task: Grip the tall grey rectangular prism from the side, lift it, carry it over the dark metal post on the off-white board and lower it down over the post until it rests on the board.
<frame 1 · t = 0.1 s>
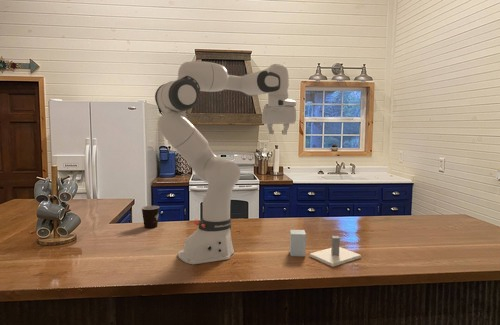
hand: (277, 134, 151), 48 cm above the kitchen island countertop, tool pointing down, fingers open, 8 cm apart
post board: (335, 257, 135), on the kitchen island countertop
tall grey rectangular prism: (297, 253, 138), on the kitchen island countertop
coffee mug: (153, 226, 175), on the kitchen island countertop
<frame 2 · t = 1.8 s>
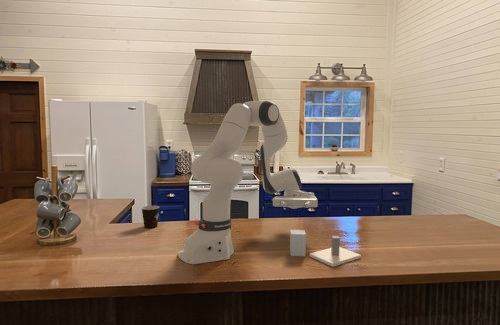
hand: (296, 205, 149), 17 cm above the kitchen island countertop, tool horizontal, fingers open, 8 cm apart
nothing on the kitchen island countertop moved.
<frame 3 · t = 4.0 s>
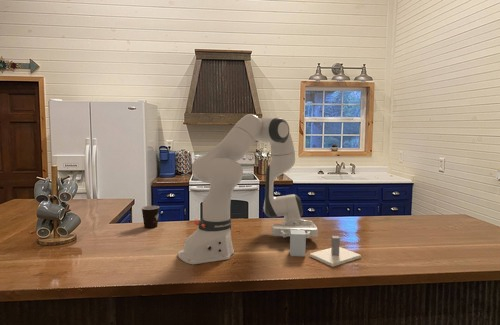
hand: (295, 236, 145), 5 cm above the kitchen island countertop, tool horizontal, fingers open, 8 cm apart
nothing on the kitchen island countertop moved.
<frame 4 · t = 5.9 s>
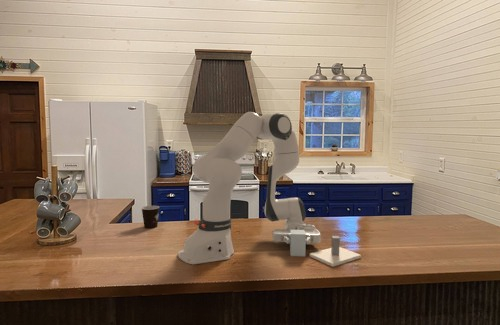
hand: (297, 242, 137), 5 cm above the kitchen island countertop, tool horizontal, fingers closed on tall grey rectangular prism, 6 cm apart
tall grey rectangular prism: (297, 253, 138), on the kitchen island countertop, touching gripper
everything else where it was.
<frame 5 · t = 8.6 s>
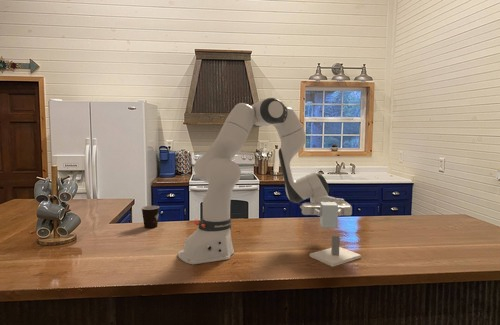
hand: (329, 214, 133), 17 cm above the kitchen island countertop, tool horizontal, fingers closed on tall grey rectangular prism, 6 cm apart
tall grey rectangular prism: (328, 225, 135), point 12 cm above the kitchen island countertop, touching gripper
everything else where it was.
when the fingers open (8 cm above the kitchen island countertop, at t = 11.6 s): tall grey rectangular prism drops 1 cm, resting on post board.
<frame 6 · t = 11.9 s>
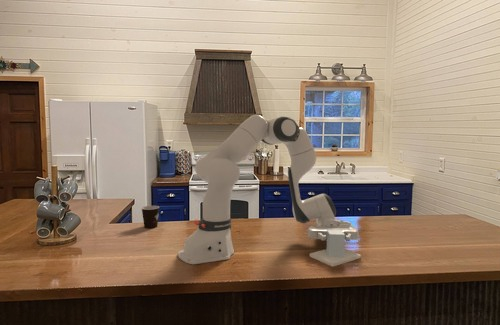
hand: (336, 239, 133), 8 cm above the kitchen island countertop, tool horizontal, fingers open, 8 cm apart
tall grey rectangular prism: (335, 254, 135), point 1 cm above the kitchen island countertop, touching post board
everything else where it was.
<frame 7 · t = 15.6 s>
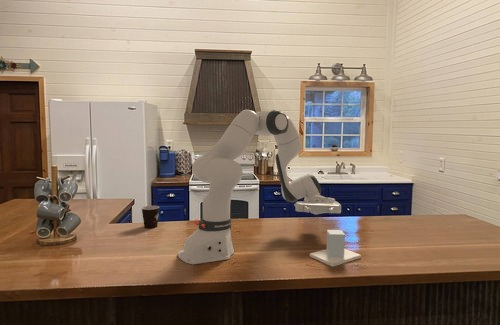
hand: (320, 211, 146), 15 cm above the kitchen island countertop, tool horizontal, fingers open, 8 cm apart
nothing on the kitchen island countertop moved.
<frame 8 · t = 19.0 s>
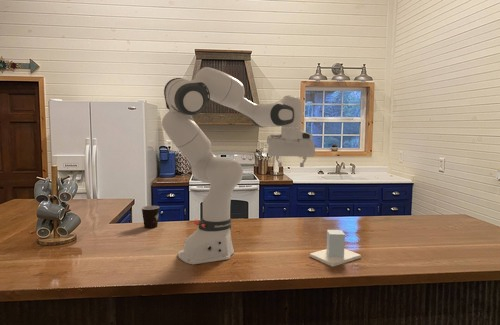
hand: (290, 166, 147), 34 cm above the kitchen island countertop, tool pointing down, fingers open, 8 cm apart
nothing on the kitchen island countertop moved.
at the end: tall grey rectangular prism 0.1 cm from the post board (horizontally); tall grey rectangular prism point 1.2 cm above the kitchen island countertop; tall grey rectangular prism tilted 0° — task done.
